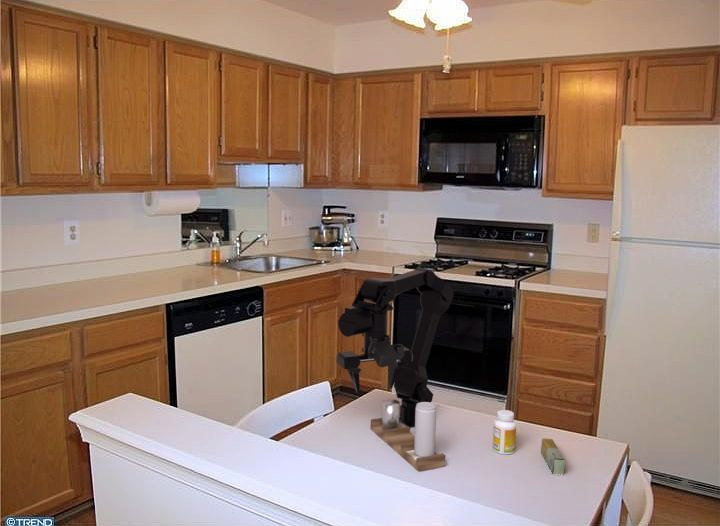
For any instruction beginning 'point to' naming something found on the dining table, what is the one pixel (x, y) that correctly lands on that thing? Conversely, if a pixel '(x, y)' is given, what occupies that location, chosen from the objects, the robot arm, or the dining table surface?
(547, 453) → the medication box
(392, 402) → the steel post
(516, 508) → the dining table surface
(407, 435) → the walnut rail
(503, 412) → the supplement bottle
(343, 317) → the robot arm
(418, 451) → the beverage can
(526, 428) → the dining table surface
